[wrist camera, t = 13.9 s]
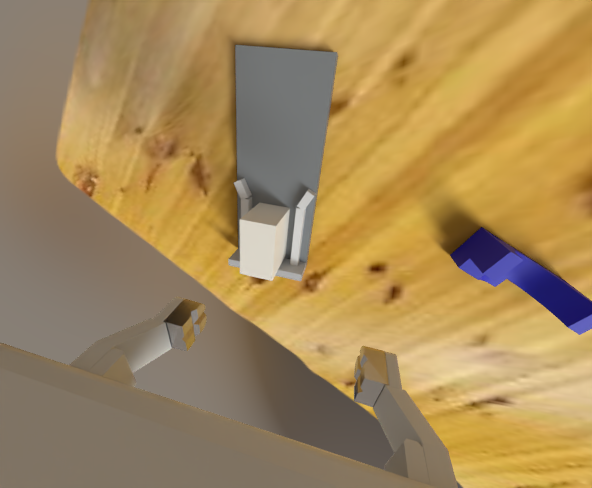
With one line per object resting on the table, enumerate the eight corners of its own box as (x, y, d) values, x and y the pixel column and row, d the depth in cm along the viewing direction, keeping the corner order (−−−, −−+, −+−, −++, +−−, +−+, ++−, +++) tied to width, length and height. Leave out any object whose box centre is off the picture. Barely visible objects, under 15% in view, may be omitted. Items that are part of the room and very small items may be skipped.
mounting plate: (240, 48, 24) (220, 34, 20) (338, 55, 23) (334, 42, 19) (241, 250, 36) (228, 265, 32) (306, 264, 34) (300, 281, 30)
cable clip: (449, 254, 29) (469, 283, 24) (480, 226, 27) (510, 251, 22) (527, 304, 30) (564, 342, 25) (564, 280, 28) (613, 317, 22)
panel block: (259, 202, 30) (239, 219, 25) (290, 207, 29) (276, 226, 24) (258, 250, 33) (240, 273, 28) (285, 255, 33) (272, 280, 28)
